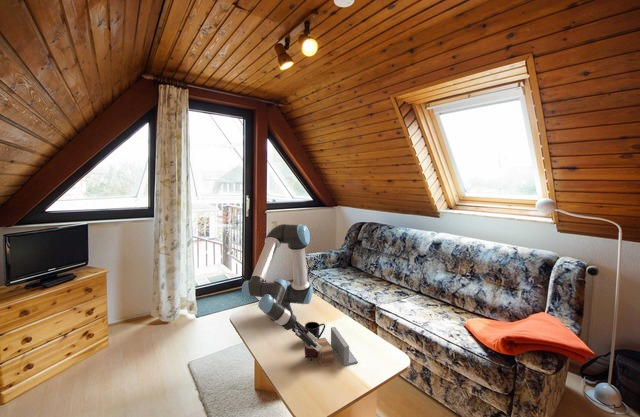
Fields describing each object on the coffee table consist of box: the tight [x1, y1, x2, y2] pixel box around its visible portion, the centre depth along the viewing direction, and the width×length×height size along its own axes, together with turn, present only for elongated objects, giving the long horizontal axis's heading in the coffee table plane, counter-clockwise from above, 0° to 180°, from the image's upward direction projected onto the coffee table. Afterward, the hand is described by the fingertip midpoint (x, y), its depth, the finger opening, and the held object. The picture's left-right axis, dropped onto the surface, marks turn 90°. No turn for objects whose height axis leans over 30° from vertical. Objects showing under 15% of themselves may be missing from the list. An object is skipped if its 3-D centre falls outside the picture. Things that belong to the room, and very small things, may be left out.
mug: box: [304, 321, 326, 339], centre depth 162 cm, size 8×12×10 cm
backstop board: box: [330, 326, 358, 367], centre depth 151 cm, size 19×7×10 cm, turn 18°
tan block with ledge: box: [316, 337, 334, 367], centre depth 147 cm, size 12×6×7 cm, turn 18°
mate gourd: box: [303, 340, 318, 362], centre depth 144 cm, size 8×8×15 cm
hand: (317, 344), depth 145 cm, fingers closed on mate gourd, 7 cm apart
